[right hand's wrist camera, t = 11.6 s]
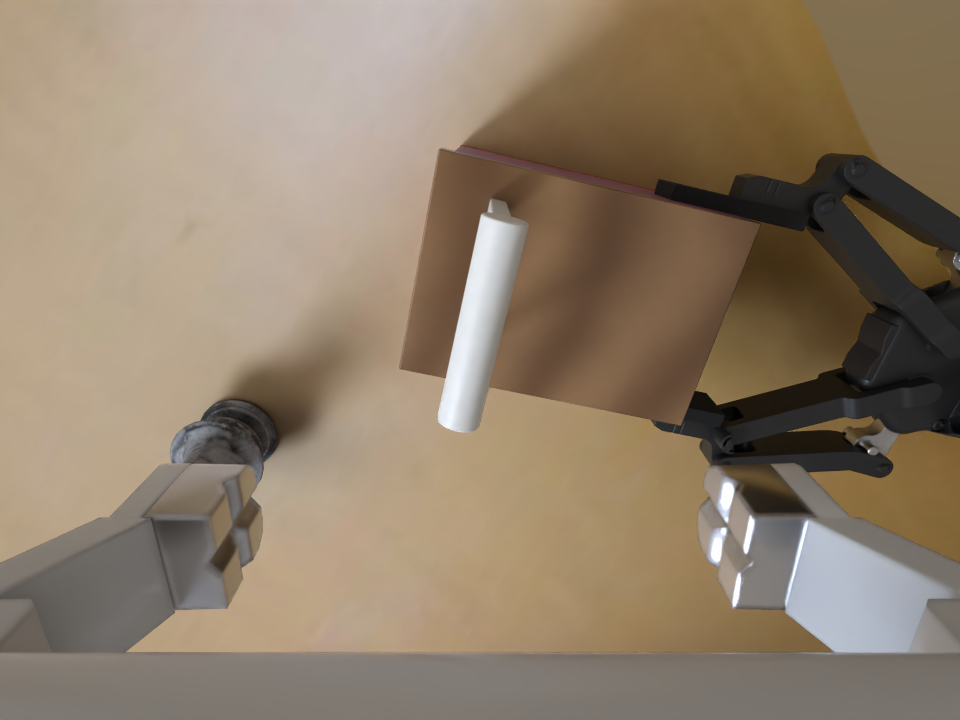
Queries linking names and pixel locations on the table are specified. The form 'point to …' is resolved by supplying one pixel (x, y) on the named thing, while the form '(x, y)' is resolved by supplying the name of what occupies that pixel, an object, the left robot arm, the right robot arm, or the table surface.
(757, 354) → the table surface
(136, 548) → the right robot arm
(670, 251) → the lid
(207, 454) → the pewter chess piece
